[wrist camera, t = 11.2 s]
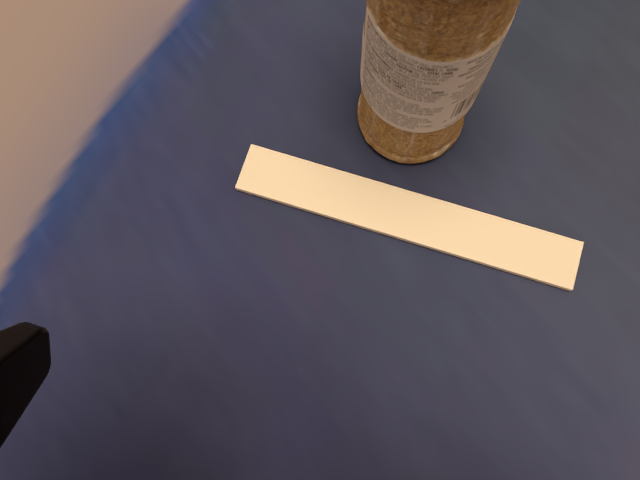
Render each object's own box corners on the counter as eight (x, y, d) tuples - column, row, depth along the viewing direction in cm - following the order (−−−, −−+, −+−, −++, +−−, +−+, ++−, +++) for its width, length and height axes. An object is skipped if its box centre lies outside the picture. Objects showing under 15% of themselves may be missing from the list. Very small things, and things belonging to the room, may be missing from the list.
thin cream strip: (569, 291, 24) (572, 289, 23) (236, 189, 25) (235, 187, 25) (580, 243, 24) (583, 242, 24) (252, 146, 25) (251, 143, 25)
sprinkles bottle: (413, 49, 26) (484, -279, 13) (485, 122, 25) (639, -150, 12) (333, 113, 26) (324, -162, 13) (404, 190, 25) (474, -20, 12)
